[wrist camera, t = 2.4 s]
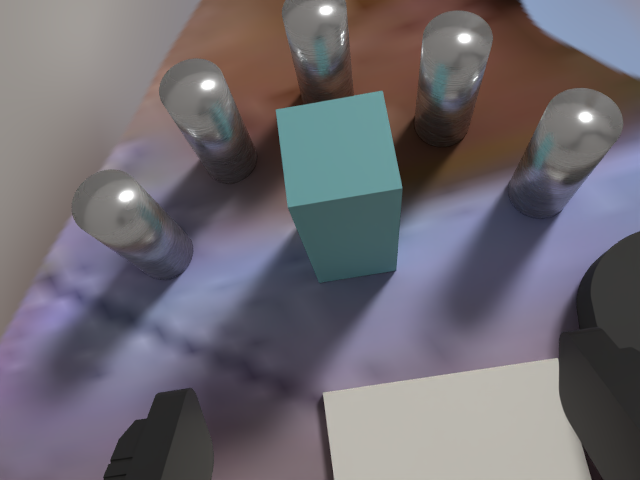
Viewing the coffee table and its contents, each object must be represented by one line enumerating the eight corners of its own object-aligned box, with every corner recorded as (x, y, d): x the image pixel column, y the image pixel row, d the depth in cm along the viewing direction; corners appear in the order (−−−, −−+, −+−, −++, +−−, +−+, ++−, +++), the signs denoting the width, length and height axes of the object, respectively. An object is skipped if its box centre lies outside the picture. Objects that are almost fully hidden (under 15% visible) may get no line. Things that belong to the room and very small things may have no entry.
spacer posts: (520, 40, 32) (555, -62, 26) (575, 213, 28) (633, 145, 22) (136, 109, 33) (76, 28, 27) (139, 283, 30) (70, 240, 23)
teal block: (382, 199, 30) (382, 90, 20) (396, 270, 28) (402, 188, 19) (309, 212, 30) (275, 109, 21) (319, 282, 29) (288, 207, 19)
